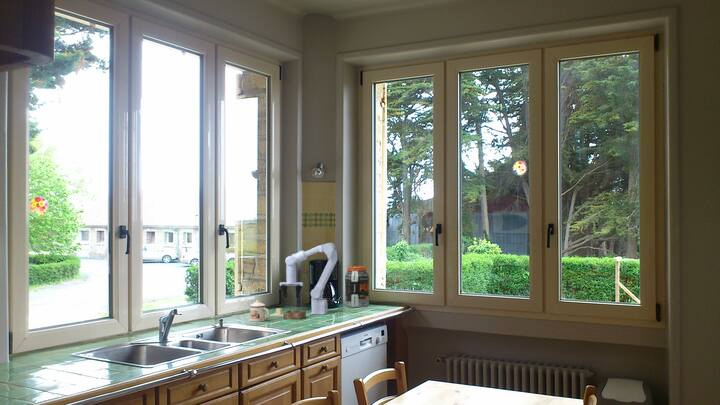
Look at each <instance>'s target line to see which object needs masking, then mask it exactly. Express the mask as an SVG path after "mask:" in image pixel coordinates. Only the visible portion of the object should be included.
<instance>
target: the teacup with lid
mask: <svg viewBox="0 0 720 405" xmlns="http://www.w3.org/2000/svg"><path fill="white" fill-rule="evenodd" d="M269 314H270V311H269V309H268V308H266V304H265V303H263V302H261V301H260V300H257V299H256V300H255V302H252V303H251V304H250V305H249V315H250V316H249V320H250V322H252V321H253V322H254V323H256V322H257V323H260V322H261V321H262V322H265V321H266V318H267V317H269ZM253 322H252V323H253Z"/></svg>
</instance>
